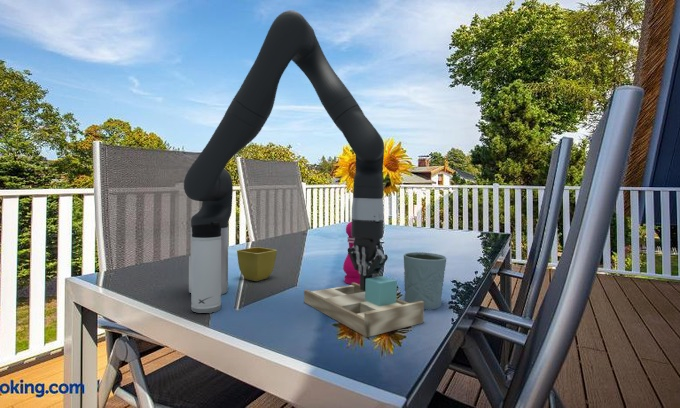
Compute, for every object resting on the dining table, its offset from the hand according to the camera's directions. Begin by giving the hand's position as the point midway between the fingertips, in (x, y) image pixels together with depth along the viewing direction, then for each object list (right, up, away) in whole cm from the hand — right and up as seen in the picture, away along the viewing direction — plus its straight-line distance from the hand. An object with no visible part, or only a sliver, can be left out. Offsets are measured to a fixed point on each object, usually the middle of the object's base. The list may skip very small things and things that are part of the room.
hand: (365, 290), depth 86 cm
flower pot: (-32, -3, +25) cm, 40 cm away
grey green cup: (+14, -4, +3) cm, 15 cm away
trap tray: (-2, -4, -4) cm, 6 cm away
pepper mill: (-2, -3, +23) cm, 23 cm away
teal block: (+3, -2, -4) cm, 5 cm away
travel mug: (-36, -4, -4) cm, 37 cm away
